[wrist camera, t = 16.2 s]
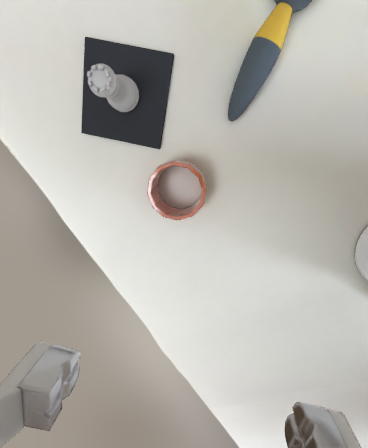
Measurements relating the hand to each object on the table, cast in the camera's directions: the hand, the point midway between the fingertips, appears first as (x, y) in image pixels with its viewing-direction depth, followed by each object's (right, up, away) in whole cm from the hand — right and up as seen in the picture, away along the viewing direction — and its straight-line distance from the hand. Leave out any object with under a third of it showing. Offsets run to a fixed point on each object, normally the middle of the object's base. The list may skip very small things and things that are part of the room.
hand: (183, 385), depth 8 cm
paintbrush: (+11, +29, +20) cm, 37 cm away
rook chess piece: (-8, +24, +23) cm, 34 cm away
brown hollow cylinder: (-1, +12, +27) cm, 29 cm away
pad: (-8, +24, +24) cm, 35 cm away
